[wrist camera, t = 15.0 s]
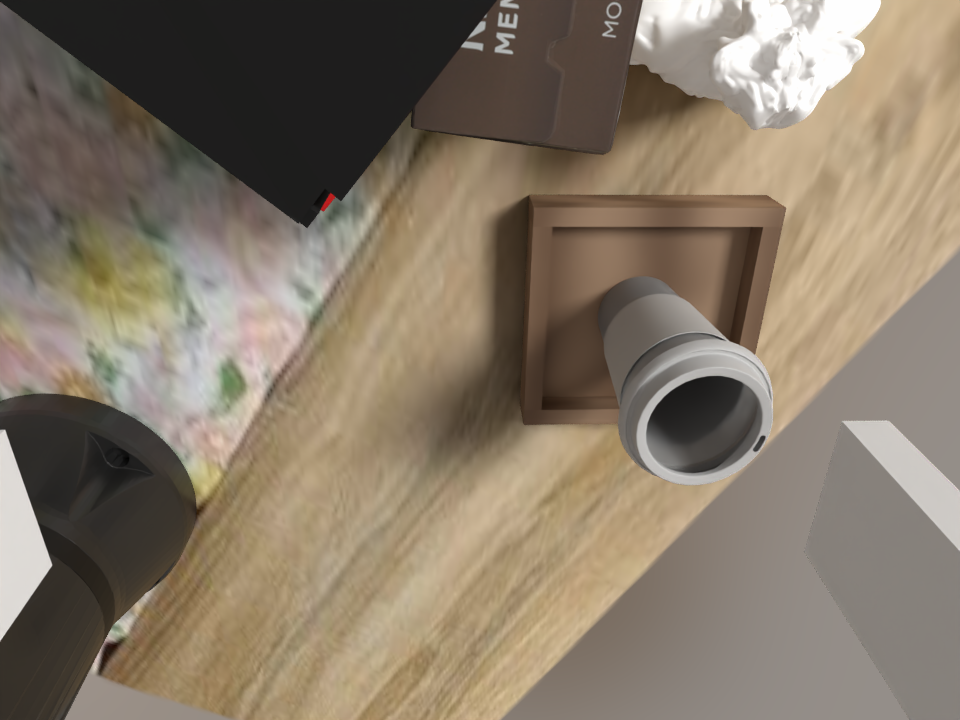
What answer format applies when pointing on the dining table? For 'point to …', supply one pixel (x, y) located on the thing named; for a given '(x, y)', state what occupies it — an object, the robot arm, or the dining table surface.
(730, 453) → the cup
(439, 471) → the dining table surface
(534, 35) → the coffee box
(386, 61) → the electrical component
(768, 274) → the tray
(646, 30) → the white lumpy piece
